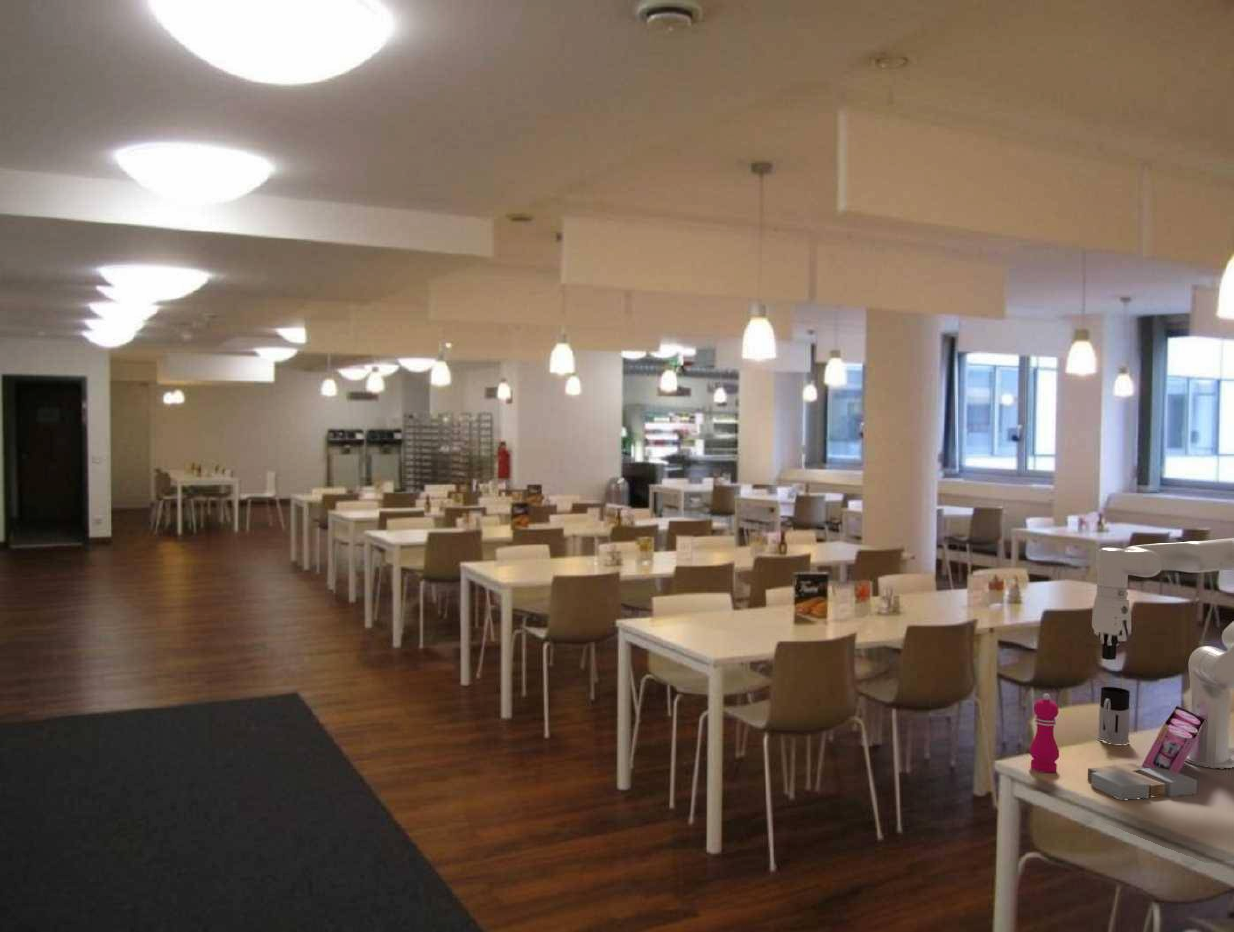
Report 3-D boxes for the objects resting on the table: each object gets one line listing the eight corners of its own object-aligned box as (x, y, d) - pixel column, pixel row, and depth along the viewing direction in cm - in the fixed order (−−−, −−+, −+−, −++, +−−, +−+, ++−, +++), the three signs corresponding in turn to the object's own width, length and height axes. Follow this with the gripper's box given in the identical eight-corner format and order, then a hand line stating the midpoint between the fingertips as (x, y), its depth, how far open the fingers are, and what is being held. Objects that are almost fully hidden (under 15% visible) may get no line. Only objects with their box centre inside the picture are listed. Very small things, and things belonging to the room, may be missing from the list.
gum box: (1171, 786, 250) (1194, 741, 247) (1138, 769, 254) (1161, 724, 251) (1184, 762, 269) (1207, 719, 266) (1154, 746, 273) (1176, 704, 270)
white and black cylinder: (1133, 741, 288) (1135, 690, 287) (1119, 751, 277) (1122, 698, 277) (1101, 734, 294) (1103, 684, 293) (1086, 744, 283) (1088, 693, 283)
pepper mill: (1061, 774, 256) (1064, 698, 255) (1031, 772, 257) (1034, 696, 257) (1054, 766, 263) (1057, 691, 262) (1026, 763, 264) (1029, 689, 264)
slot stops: (1163, 780, 254) (1164, 767, 253) (1196, 794, 244) (1196, 780, 244) (1091, 786, 247) (1091, 772, 247) (1121, 800, 238) (1122, 786, 238)
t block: (1132, 774, 258) (1132, 763, 258) (1180, 794, 244) (1181, 782, 244) (1087, 780, 253) (1088, 768, 252) (1134, 800, 239) (1135, 787, 239)
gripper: (1144, 597, 265) (1141, 664, 266) (1102, 588, 280) (1100, 652, 280) (1121, 597, 263) (1118, 665, 264) (1080, 589, 278) (1078, 653, 278)
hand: (1108, 658), depth 272 cm, fingers closed
